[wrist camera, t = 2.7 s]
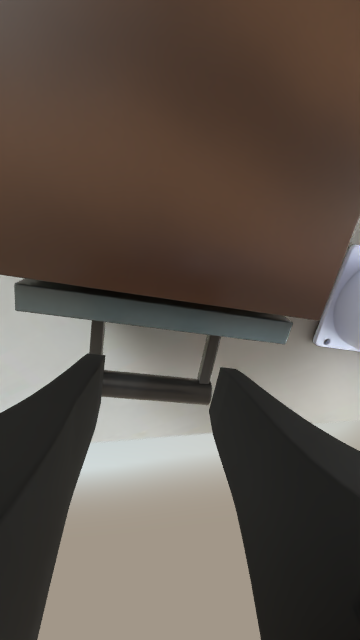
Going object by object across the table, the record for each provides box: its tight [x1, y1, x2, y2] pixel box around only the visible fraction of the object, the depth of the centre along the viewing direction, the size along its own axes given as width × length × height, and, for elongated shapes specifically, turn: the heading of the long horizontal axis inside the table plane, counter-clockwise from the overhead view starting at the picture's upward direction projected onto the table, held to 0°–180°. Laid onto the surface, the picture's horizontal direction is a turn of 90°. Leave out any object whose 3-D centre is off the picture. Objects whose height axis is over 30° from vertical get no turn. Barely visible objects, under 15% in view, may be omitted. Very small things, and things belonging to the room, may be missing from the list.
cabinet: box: [0, 0, 360, 321], centre depth 12 cm, size 14×14×8 cm
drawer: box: [14, 278, 293, 405], centre depth 14 cm, size 17×12×6 cm
